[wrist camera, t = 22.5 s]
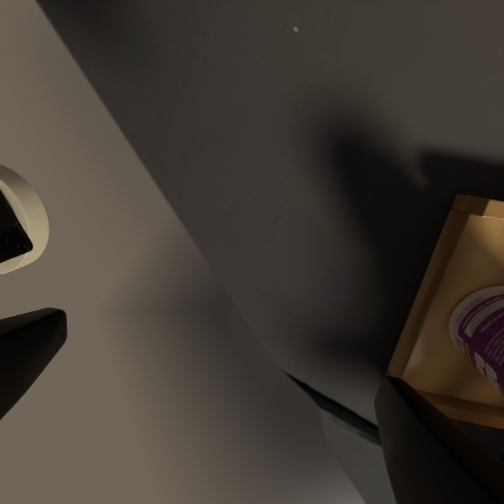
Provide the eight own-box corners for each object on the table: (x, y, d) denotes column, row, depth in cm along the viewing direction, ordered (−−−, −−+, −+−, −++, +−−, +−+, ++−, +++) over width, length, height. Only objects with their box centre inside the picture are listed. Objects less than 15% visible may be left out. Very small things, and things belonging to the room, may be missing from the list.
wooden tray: (383, 377, 23) (401, 414, 19) (456, 193, 18) (496, 200, 15) (497, 400, 22) (536, 441, 19) (602, 219, 18) (677, 231, 14)
